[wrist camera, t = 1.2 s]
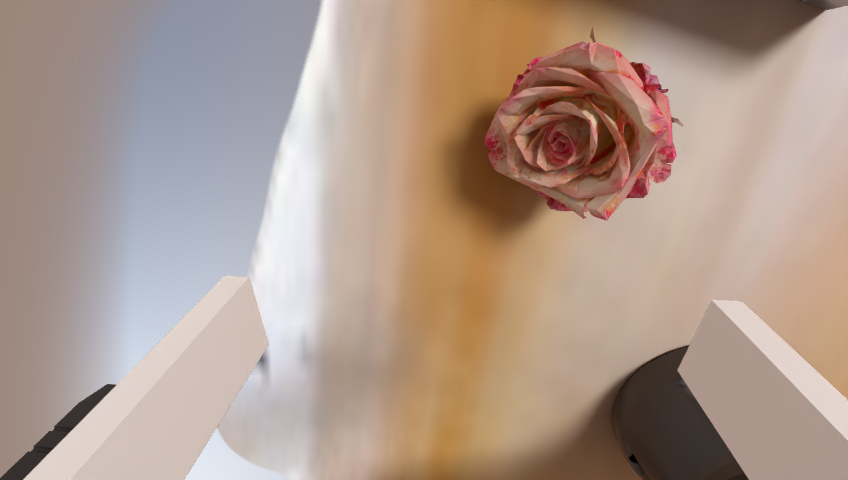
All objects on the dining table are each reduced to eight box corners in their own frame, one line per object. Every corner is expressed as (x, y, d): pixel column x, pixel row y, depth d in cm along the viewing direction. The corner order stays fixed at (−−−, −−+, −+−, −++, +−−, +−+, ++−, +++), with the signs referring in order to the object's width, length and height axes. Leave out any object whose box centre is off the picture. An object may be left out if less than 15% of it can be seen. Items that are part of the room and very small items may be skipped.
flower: (645, -13, 19) (585, -4, 14) (729, 140, 19) (699, 198, 15) (510, 97, 26) (441, 126, 22) (573, 203, 27) (520, 255, 22)
